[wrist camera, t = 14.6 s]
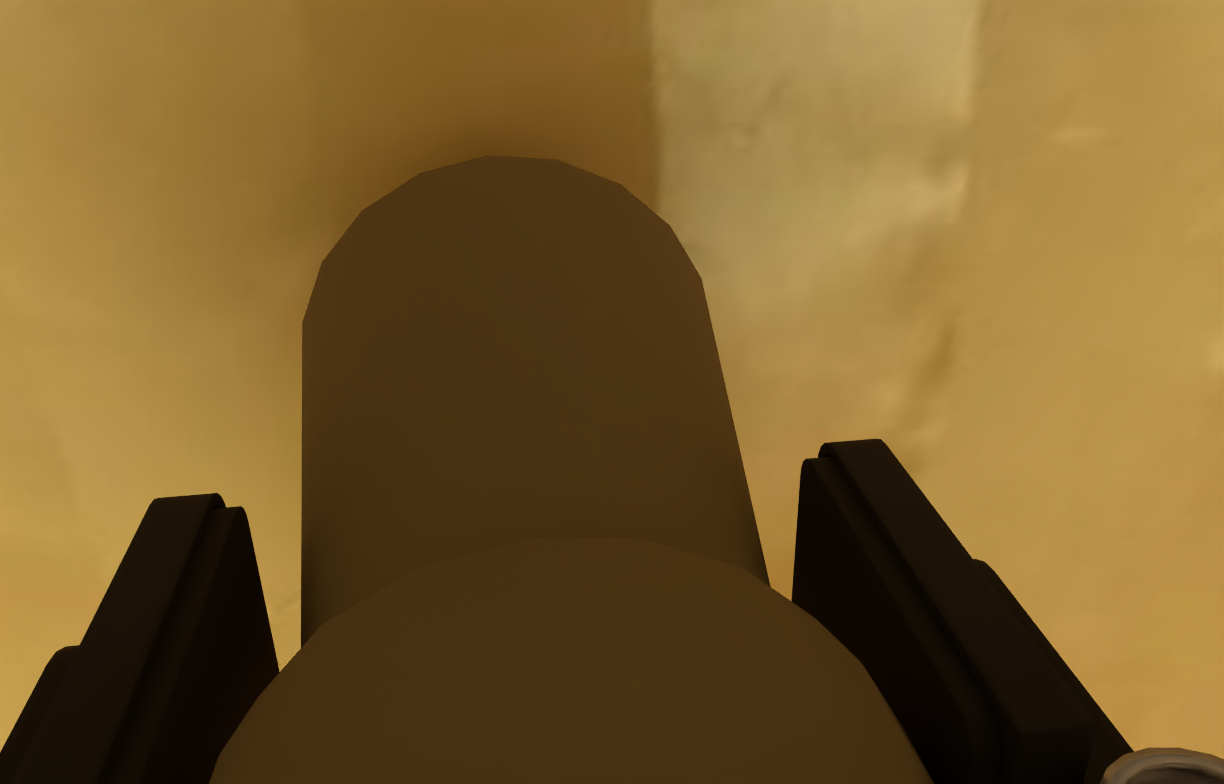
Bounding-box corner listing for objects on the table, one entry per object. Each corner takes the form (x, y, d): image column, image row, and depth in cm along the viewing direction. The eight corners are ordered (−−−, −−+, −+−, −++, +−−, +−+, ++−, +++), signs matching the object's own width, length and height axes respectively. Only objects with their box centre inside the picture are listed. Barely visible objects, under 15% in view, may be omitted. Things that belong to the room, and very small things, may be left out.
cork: (579, 583, 17) (736, 1496, 8) (231, 432, 15) (-174, 1412, 6) (790, 285, 15) (1363, 984, 6) (424, 68, 13) (332, 574, 4)
